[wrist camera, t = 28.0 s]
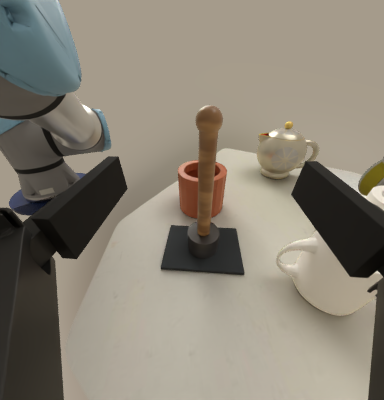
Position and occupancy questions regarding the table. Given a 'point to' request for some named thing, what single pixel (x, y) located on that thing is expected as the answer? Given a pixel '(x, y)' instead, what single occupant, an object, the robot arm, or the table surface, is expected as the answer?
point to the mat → (219, 263)
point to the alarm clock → (372, 178)
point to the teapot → (283, 151)
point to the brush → (205, 184)
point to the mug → (326, 278)
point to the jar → (190, 188)
